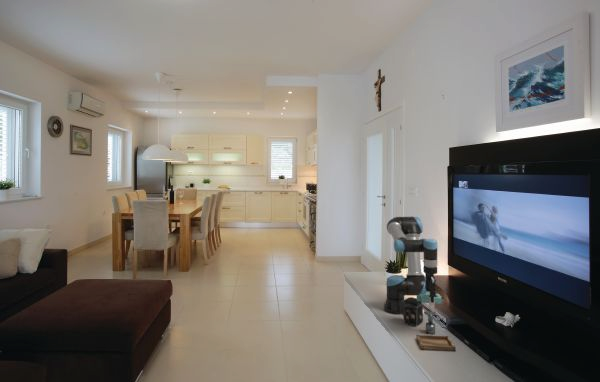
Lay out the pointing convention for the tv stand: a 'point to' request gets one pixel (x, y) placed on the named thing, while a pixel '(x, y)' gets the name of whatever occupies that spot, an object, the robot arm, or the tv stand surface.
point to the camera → (413, 311)
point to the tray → (435, 343)
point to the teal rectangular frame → (425, 298)
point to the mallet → (430, 323)
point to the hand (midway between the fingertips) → (430, 305)
